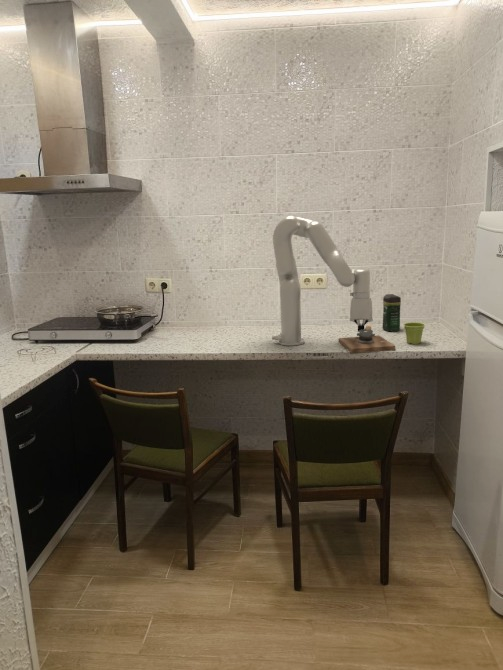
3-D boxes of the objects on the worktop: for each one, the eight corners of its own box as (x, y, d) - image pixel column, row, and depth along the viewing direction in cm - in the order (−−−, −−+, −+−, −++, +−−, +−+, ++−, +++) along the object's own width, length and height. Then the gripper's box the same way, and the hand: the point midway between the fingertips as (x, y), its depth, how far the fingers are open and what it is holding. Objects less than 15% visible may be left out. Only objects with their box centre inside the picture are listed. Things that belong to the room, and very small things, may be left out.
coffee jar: (402, 331, 246) (403, 295, 241) (386, 332, 245) (387, 296, 241) (395, 327, 255) (396, 292, 251) (380, 328, 255) (381, 293, 250)
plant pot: (406, 345, 220) (407, 327, 217) (400, 340, 229) (401, 322, 227) (427, 344, 219) (427, 326, 217) (420, 339, 228) (421, 321, 226)
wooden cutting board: (351, 353, 211) (351, 346, 211) (338, 342, 231) (338, 336, 230) (395, 350, 213) (395, 343, 212) (378, 339, 232) (378, 333, 232)
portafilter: (356, 340, 220) (356, 331, 219) (360, 332, 234) (360, 324, 233) (374, 341, 217) (374, 332, 216) (377, 333, 231) (377, 324, 230)
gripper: (344, 296, 224) (344, 334, 229) (377, 296, 220) (376, 335, 225) (345, 294, 231) (345, 331, 236) (378, 294, 227) (377, 331, 232)
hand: (361, 333), depth 230 cm, fingers closed
